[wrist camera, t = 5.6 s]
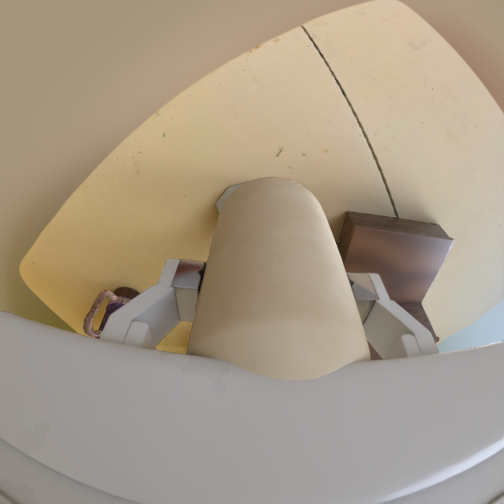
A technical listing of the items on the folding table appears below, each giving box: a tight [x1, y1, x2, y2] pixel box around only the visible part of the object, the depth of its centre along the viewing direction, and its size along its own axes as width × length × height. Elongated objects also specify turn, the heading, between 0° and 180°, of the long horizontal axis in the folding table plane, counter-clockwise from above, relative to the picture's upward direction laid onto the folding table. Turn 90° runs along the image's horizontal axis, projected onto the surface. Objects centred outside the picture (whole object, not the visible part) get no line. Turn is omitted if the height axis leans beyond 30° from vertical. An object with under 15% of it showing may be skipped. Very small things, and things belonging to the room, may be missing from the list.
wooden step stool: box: [337, 211, 454, 360], centre depth 35 cm, size 18×16×12 cm
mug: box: [83, 288, 140, 339], centre depth 40 cm, size 10×7×12 cm
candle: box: [186, 177, 371, 381], centre depth 10 cm, size 6×6×10 cm
